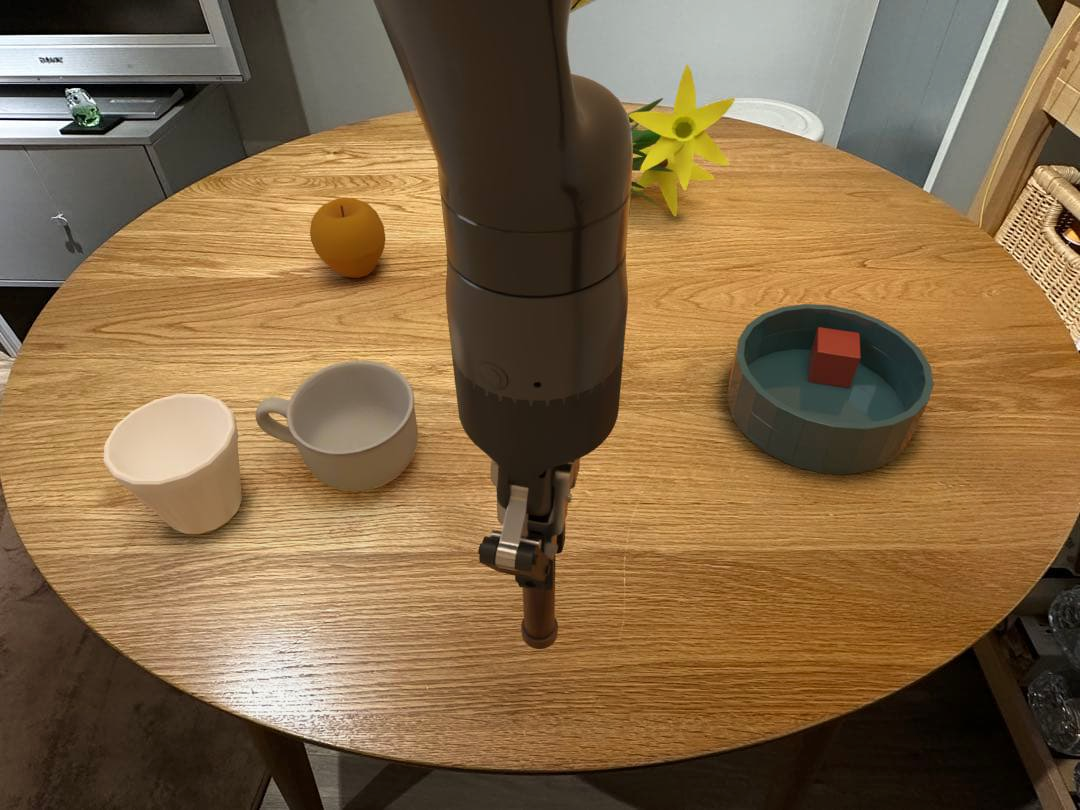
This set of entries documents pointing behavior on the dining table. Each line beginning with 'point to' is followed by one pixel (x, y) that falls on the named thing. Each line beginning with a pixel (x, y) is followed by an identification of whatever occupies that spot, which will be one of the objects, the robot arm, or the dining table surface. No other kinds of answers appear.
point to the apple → (348, 236)
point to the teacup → (348, 424)
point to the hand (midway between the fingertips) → (540, 563)
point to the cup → (180, 460)
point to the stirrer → (539, 617)
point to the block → (834, 357)
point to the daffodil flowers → (675, 142)
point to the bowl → (827, 391)
